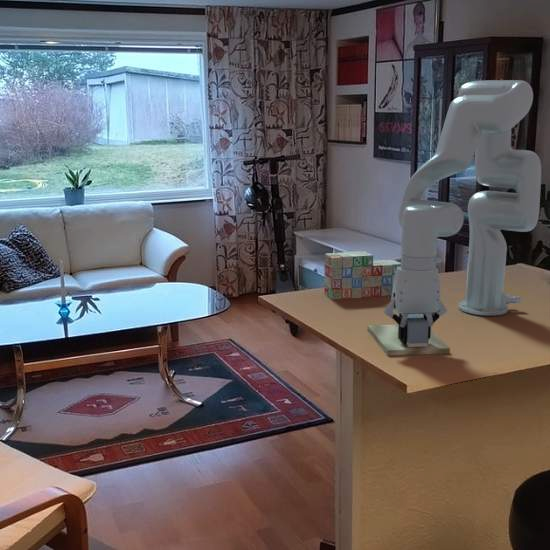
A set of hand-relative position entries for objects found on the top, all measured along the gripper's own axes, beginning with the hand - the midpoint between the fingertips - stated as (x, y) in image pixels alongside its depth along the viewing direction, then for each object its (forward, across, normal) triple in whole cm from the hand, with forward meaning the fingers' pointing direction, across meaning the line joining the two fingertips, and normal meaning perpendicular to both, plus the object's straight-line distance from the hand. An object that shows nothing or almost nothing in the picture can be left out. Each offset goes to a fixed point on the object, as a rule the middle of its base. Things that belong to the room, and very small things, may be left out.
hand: (413, 341), depth 158 cm
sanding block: (0, 0, -1) cm, 1 cm away
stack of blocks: (+2, +1, -46) cm, 46 cm away
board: (+2, 0, -5) cm, 5 cm away
